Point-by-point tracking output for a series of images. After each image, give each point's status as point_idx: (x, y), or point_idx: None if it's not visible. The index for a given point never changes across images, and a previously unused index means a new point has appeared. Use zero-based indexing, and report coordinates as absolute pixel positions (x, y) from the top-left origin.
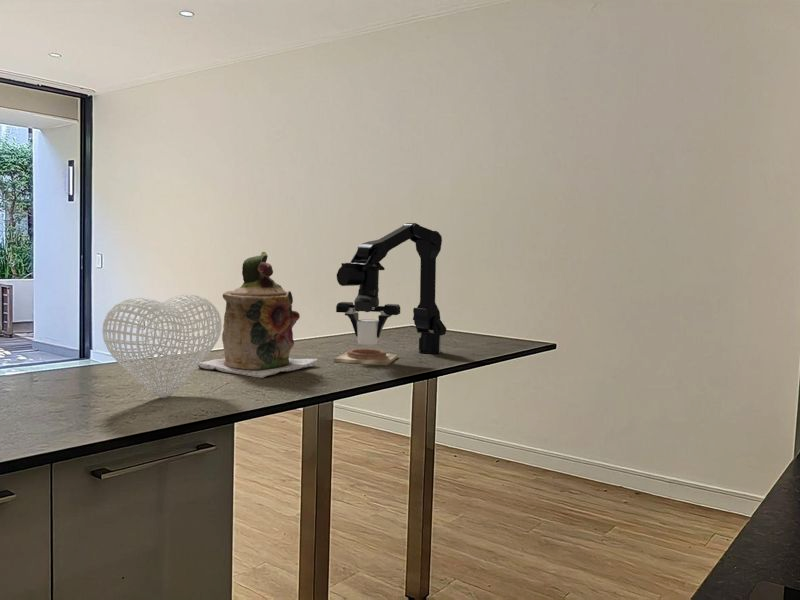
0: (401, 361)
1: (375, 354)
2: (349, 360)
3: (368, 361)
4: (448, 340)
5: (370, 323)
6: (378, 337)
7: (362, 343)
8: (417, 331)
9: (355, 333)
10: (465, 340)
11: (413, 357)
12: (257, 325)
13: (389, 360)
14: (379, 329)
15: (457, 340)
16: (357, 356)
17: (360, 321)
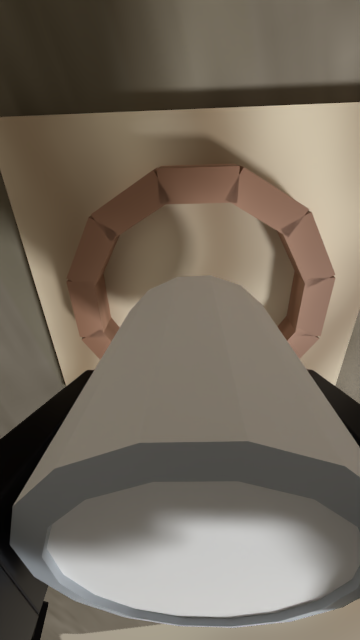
0: (10, 310)
1: (99, 208)
2: (287, 106)
3: (132, 113)
4: (79, 623)
5: (97, 434)
6: (88, 371)
7: (223, 282)
8: (44, 608)
9: (328, 382)
10: (44, 628)
11: (22, 419)
12: None
13: (12, 207)
14: (35, 421)
15: (60, 626)
16: (235, 165)
17: (330, 471)
